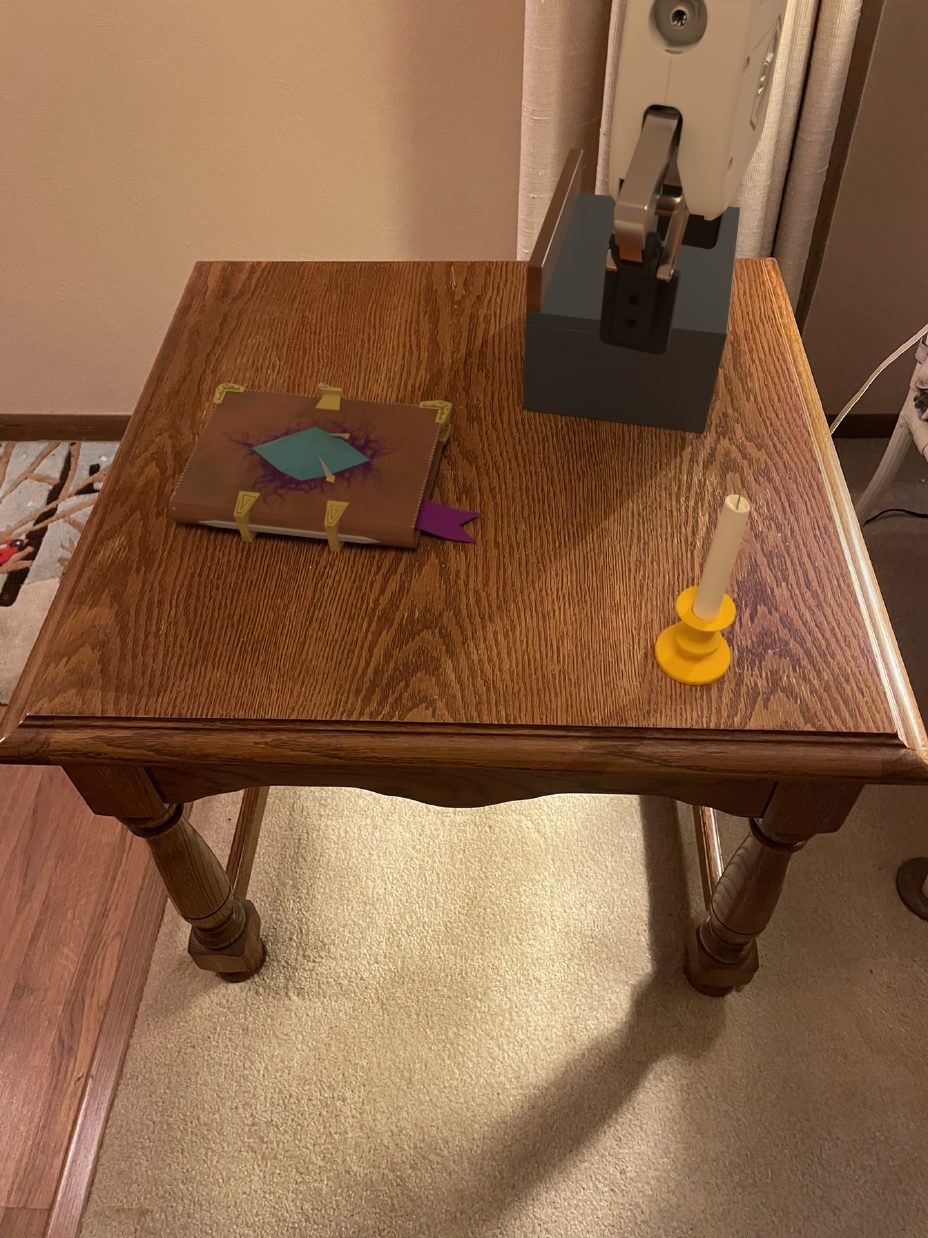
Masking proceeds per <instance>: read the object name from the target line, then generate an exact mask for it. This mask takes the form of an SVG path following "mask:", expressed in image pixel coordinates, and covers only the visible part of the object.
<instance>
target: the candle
mask: <svg viewBox="0 0 928 1238" xmlns="http://www.w3.org/2000/svg"><path fill="white" fill-rule="evenodd" d="M750 510H751V507H750V503H749V502H748V500H747V499H746V498H744V497H743V496H741V495H740V494H729V495H727V496H726V497H725V499H724V503H723V505H722V509H721V511H720V514H719V517H718V520H717V524H716V526H715V531H714V534H713V537H712V540H711V543H710V548H709V551H708V554H707V558H706V561H705V564H704V568H703V571H702V574H701V578H700V581H699V585H694V586H690V587H688V588H686V589H685V590H683V591H681V592H680V594H679V595H678V597H677V598H676V602H675V610H676V612H677V615H678V616H679V619H681V620H680V621H678V622H677V623H675V624H672V625H669V626H668V627H666V628H664V630H662V631H661V633H660V634H659V635H658V636H657V638H656V642H655V645H654V658H655V660H656V663H657V665H658V666H659V668H660V669H661V671H662V672H663V673H665V674H666V675H667V676H668V677H670V678H671V679H672V680H675V681H676V682H679V683H682V684H685V685H689V686H704V685H709V684H712V683H714V682H716V681H718V680H720V679H721V678H722V677H723V676H724V675H725V674H726V673H727V671H728V670H729V667H730V663H731V659H732V656H731V648H730V647H729V644H728V642H727V641H726V639H725V638H724V637H723V635H722V632H721V631H723V630H725V629H727V628H728V627H730V626H731V625H732V623H734V621H735V619H736V614H737V609H736V605H735V603H734V601H733V599H732V598H731V597H730V595H729V594H727V593H726V591H727V588H728V584H729V581H730V578H731V574H732V572H733V568H734V565H735V562H736V558H737V556H738V553H739V549H740V546H741V543H742V539H743V536H744V533H745V530H746V525H747V522H748V518H749V513H750Z"/></svg>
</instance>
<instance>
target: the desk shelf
mask: <svg viewBox="0 0 928 1238" xmlns="http://www.w3.org/2000/svg"><path fill="white" fill-rule="evenodd" d="M583 156H584V149H583V148H570V149H569V151H568V154H567V157H566V159H565V162H564V164H563V167H562V170H561V173H560V176H559V178H558V181H557V184H556V187H555V189H554V191H553V195H552V197H551V200H550V203H549V205H548V207H547V211H546V213H545V217H544V218H543V219H544V220H543V222H542V223H541V227H540V230H539V233H538V236H537V237H536V238H537V239H536V241H535V244H534V246H533V249H532V252H531V255H530V257H529V259H528V263H527V266H526V294H525V295H526V298H525V299H526V300H525V301H526V303H525V329H524V330H525V331H524V332H525V334H524V339H525V340H524V361H523V362H524V364H523V365H524V367H523V399H522V401H523V403H522V409H523V410H524V411H530V412H531V411H532V412H537V413H538V412H539V413H540V412H541V413H546V414H554V415H562V416H568V417H577V418H584V419H593V420H599V421H607V422H613V423H622V424H628V425H629V424H630V425H636V426H643V427H653V428H659V429H665V430H666V429H667V430H674V431H683V432H689V433H695V434H696V433H697V434H704V433H705V430H706V426H707V421H708V417H709V412H710V408H711V404H712V400H713V395H714V392H715V387H716V384H717V379H718V375H719V371H720V366H721V362H722V358H723V354H724V349H725V345H726V341H727V337H728V331H729V321H730V312H731V304H732V303H731V302H732V293H733V286H734V285H733V284H734V276H735V275H734V274H735V266H736V265H735V264H736V256H737V248H738V238H739V237H738V236H739V229H740V227H739V226H740V218H741V210H742V209H741V207H738V206H729V205H728V207H727V209H726V210H725V211H724V214H723V219H722V224H721V229H720V234H719V239H718V241H717V243H716V246H715V247H714V248H712V249H703V248H698V247H692V246H687V245H681V246H680V250H679V254H678V257H677V261H676V265H675V268H674V270H680V271H681V277H680V283H679V289H678V295H677V300H676V306H675V312H674V318H673V324H672V329H671V335H670V341H669V345H668V347H667V349H666V351H665V353H664V354H662V355H654V354H650V353H645V352H640V351H636V350H631V349H626V348H622V347H617V346H612V345H608V344H604V343H603V342H602V341H601V340H600V338H599V330H600V320H601V310H602V300H603V290H604V280H605V270H606V260H607V254H608V250H609V246H610V245H609V239H610V236H611V234H612V233H613V231H614V210H615V205H616V202H615V200H614V199H613V198H612V196H611V195H606V194H596V193H595V194H594V193H584V192H581V184H582V169H583V158H584V157H583ZM658 216H659V215H654V225H653V227H652V230H651V232H656V230H657V223H658ZM661 242H662V246H664V241H661Z"/></svg>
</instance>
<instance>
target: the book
mask: <svg viewBox="0 0 928 1238" xmlns="http://www.w3.org/2000/svg"><path fill="white" fill-rule="evenodd" d="M316 387H317V395H315V394H303V393H295V392H294V393H293V392H292V393H291V392H282V391H271V390H258V389H248V388H246V387H245V386H242V385H238V384H236V383H235V384H234V383H231V382H226V383H220V384H219V385H218V386H217V387H216V388H215V392H214V397H213V406H214V407H212V411H211V412H210V415H209V417H208V419H207V422H206V423H205V425H204V427H203V429H202V431H201V433H200V435H199V438H198V440H197V442H196V444H195V445H194V448H193V450H192V452H191V454H190V456H189V457H188V460H187V463H186V465H185V466H184V468H183V471H182V473H181V475H180V477H179V480H178V481H177V483H176V486H175V487H174V489H173V492H172V493H171V496H170V498H169V500H168V513H169V516H170V519H171V520H172V522H174V523H181V524H182V523H183V524H190V525H199V526H200V525H201V526H208V527H215V528H225V529H233V530H239V533H240V535H241V538H242V541H243V542H248V543H249V542H250V543H253V542H254V540H255V539H256V536H257V535H258V533H268V534H269V533H270V534H277V535H285V536H286V535H287V536H295V537H305V538H314V539H322V540H327V542H328V546H329V550H330V551H331V552H338V553H341V551H342V549H343V547H344V545H345V543H346V542H348V543H349V542H350V543H356V544H358V543H359V544H371V545H379V546H387V547H388V546H389V547H395V548H396V547H398V548H405V549H406V548H407V549H415V550H416V549H417V548H418V544H419V540H420V537H421V533H422V531H424V532H426V533H429V534H432V535H435V536H437V537H439V538H445V539H447V540H452V541H457V542H470V543H477V540H475V539H474V538H473V537H472V536H471V535H470V533H468V532H467V530H465V529H464V528H463V527H462V526H461V525H462V524H465V523H467V522H468V521H470V520H472V519H474V518H476V517H479V516H480V515H482V514H483V512H477V511H470V510H462V509H458V508H453V507H449V506H445V505H443V504H440V503H437V502H435V501H433V500H430V498H431V494H432V490H433V487H434V483H435V479H436V475H437V471H438V468H439V465H440V464H439V463H440V460H441V456H442V452H443V448H444V445H446V443H447V441H448V439H449V438H450V436H451V434H452V433H451V432H452V427H453V424H452V423H450V422H448V421H449V419H450V417H451V415H452V411H453V403H452V402H449V401H445V400H442V399H437V400H423V401H420V402H419V404H416V403H415V404H414V403H403V402H393V401H382V400H370V399H360V398H358V399H357V398H348V397H345V396H344V391H343V389H342V387H332V386H330V385H329V384H324V383H323V382H322V381H320V382H319V383H318V384H317V386H316Z"/></svg>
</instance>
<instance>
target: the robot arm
mask: <svg viewBox="0 0 928 1238" xmlns="http://www.w3.org/2000/svg"><path fill="white" fill-rule="evenodd" d="M788 4H789V0H627V1H626V6H625V15H624V22H623V29H622V37H621V46H620V51H619V53H620V54H619V61H618V70H617V78H616V84H615V85H616V86H615V95H614V105H613V114H612V123H611V134H610V146H609V147H610V148H609V160H608V161H609V163H608V191H609V195H610V196H612V198H613V199H614V200H615V202H616V205H615V210H614V231H613V233H612V234H611V236H610V239H609V245H610V246H609V250H608V254H607V260H606V270H605V280H604V290H603V300H602V310H601V320H600V330H599V338H600V340H601V341H602V342H603V343H604V344H608V345H612V346H617V347H622V348H626V349H631V350H636V351H640V352H645V353H650V354H654V355H662V354H664V353H665V351H666V349H667V347H668V345H669V341H670V335H671V329H672V324H673V318H674V312H675V306H676V300H677V295H678V289H679V283H680V277H681V271H680V270H674V268H675V265H676V261H677V257H678V254H679V250H680V246H681V245H687V246H692V247H698V248H703V249H712V248H714V247H715V246H716V243H717V241H718V239H719V234H720V229H721V224H722V219H723V214H724V211H725V210H726V209H727V207H728V206H729V205H730V203H731V201H732V200H733V198H734V196H735V194H736V193H737V190H738V188H739V185H740V184H741V181H742V179H743V178H744V176H745V174H746V171H747V170H748V167H749V165H750V163H751V161H752V158H753V157H754V154H755V152H756V150H757V148H758V145H759V143H760V141H761V138H762V136H763V132H764V127H765V125H766V119H767V114H768V109H769V104H770V98H771V91H772V86H773V81H774V75H775V70H776V65H777V60H778V54H779V49H780V44H781V38H782V34H783V29H784V23H785V18H786V13H787V8H788ZM654 215H659V216H658V223H657V230H656V232H651V230H652V227H653V225H654ZM661 241H664V246H662V242H661Z"/></svg>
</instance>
